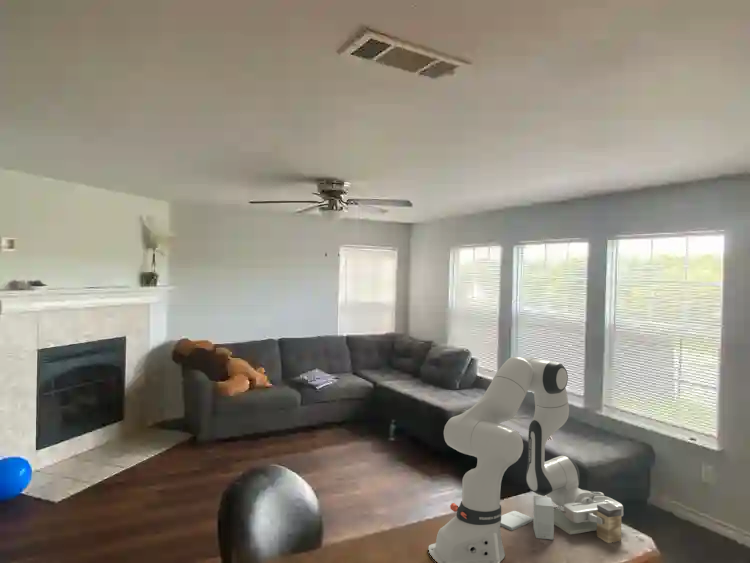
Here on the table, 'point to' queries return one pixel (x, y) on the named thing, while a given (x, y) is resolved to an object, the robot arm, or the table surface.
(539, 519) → the small box
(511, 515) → the external hard drive
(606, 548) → the table surface
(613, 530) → the maple block
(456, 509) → the robot arm
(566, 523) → the sage board
